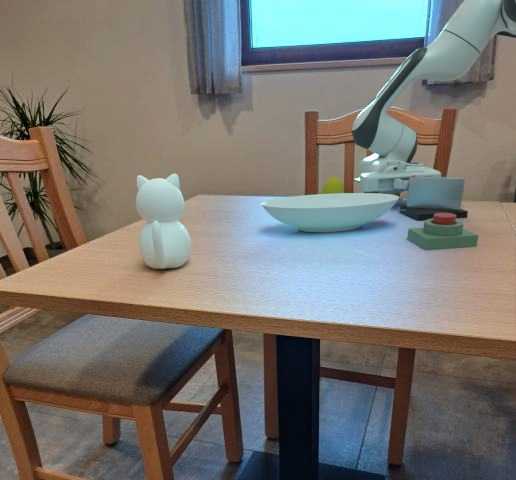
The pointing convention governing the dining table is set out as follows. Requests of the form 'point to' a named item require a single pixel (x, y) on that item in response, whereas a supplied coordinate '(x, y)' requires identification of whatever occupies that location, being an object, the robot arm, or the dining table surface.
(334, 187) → the lemon
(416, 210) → the plate
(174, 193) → the cat figurine
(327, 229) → the bowl
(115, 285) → the dining table surface
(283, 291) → the dining table surface
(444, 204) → the blue card stand
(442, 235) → the green base
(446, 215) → the button
